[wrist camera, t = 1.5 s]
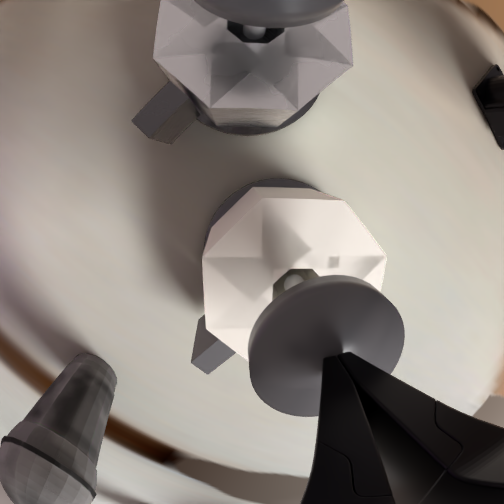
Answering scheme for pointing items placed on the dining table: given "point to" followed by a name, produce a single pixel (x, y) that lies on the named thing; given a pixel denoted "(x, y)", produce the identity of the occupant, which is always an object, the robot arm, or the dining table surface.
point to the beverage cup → (60, 438)
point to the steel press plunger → (270, 13)
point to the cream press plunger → (319, 338)
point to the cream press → (273, 258)
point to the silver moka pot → (239, 71)
